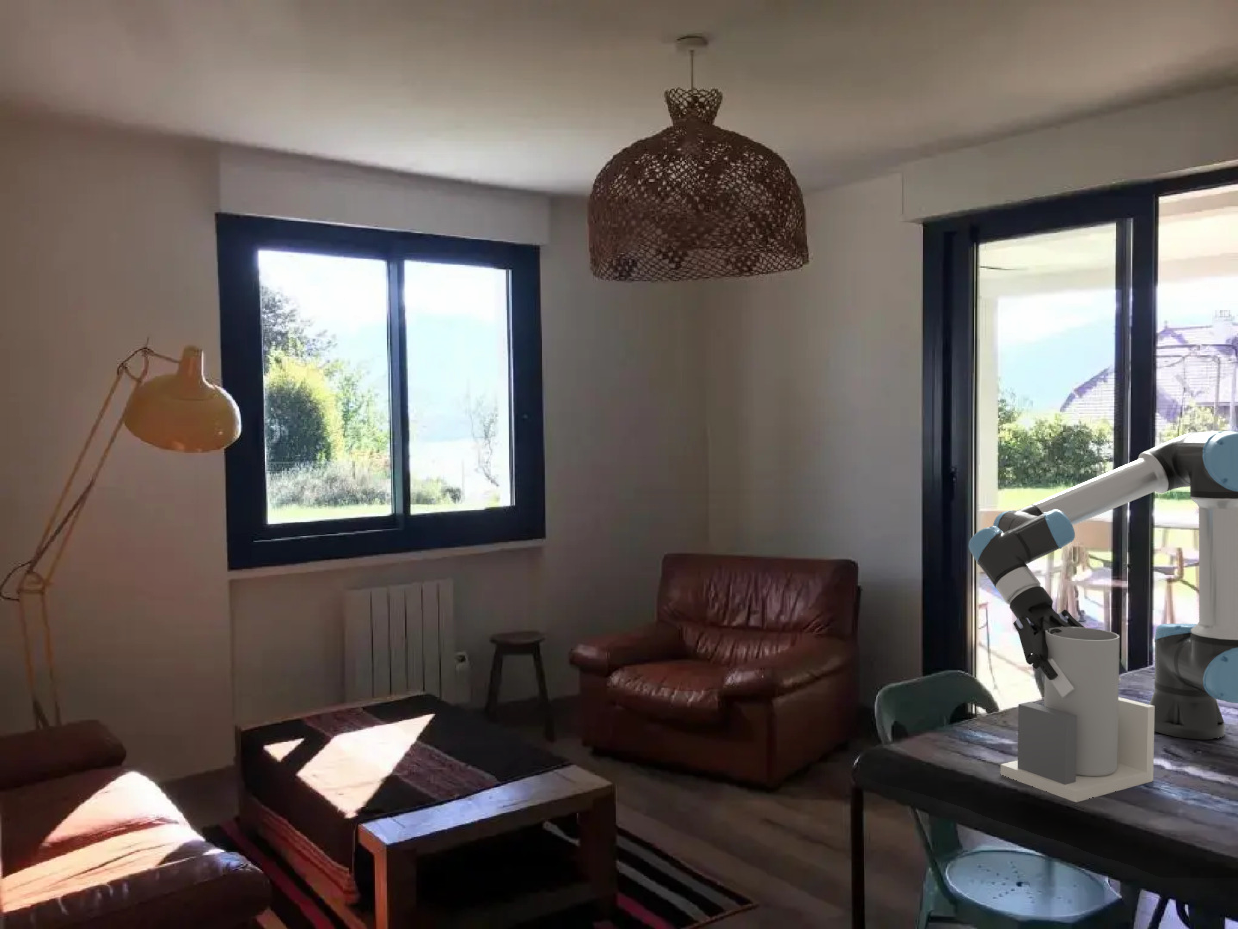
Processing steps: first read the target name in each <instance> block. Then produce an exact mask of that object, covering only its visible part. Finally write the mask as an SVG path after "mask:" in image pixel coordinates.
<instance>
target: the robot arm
mask: <svg viewBox="0 0 1238 929" xmlns="http://www.w3.org/2000/svg"><path fill="white" fill-rule="evenodd" d="M1184 487H1185V488H1187V487H1189V490H1190V491H1189V495H1190V499H1191V500H1192V501H1193V502H1194V503H1195V504H1196V505H1197V506H1198V612H1199V613H1198V623H1161V624H1159V625H1158V626H1157V627H1156V629H1155V635H1154V636H1155V637H1154V691H1153V693H1152V695H1151V698H1150V701H1149V705H1153V706H1155V713H1154V732H1156V733H1159V734H1163V735H1166V736H1170V737H1171V736H1172V737H1176V738H1183V739H1191V740H1214V739H1213V738H1217V739H1219V738H1218V737H1221V736H1223V737H1225V735H1224V734H1226V724H1225V721H1224V718H1223V715H1222V712H1221V709H1220V706H1219V702H1218V700H1220V701H1222V702H1223V701H1224V702H1225V703H1230V704H1238V431H1234V430H1224V431H1223V430H1222V431H1221V430H1220V431H1219V430H1218V431H1204V430H1201V431H1192V432H1187V433H1185V434H1181V435H1179V436H1177V437H1174V438H1172V439H1170V440H1168V441H1164V442H1163V443H1161V444H1159V445H1155V446H1154V447H1152V448H1150V449H1147V450H1145V451H1143V452H1141V453H1140V454H1139V455H1138V458H1137V459H1136V460H1134V461H1131V462H1129V463H1126V464H1124V465H1122V466H1119V467H1117V468H1115V469H1113V470H1112V469H1111V470H1110V471H1108V472H1105V473H1103V474H1101V475H1098V476H1096V477H1093V478H1091V479H1088V480H1087V481H1084V482H1082V483H1080V484H1077V485H1075V486H1073V487H1070V488H1068V489H1065V490H1063V491H1060V492H1058V493H1055V494H1053V495H1051V496H1048V497H1046V498H1044V499H1042V500H1039V501H1036V502H1034V503H1032V504H1030V505H1027V506H1025V507H1022V508H1020V509H1017V510H1005V511H1003V512H1001V513H1000V514H998V515H997V516H996V517H995V519H994V521H993V522H992V523H993V524H992V526H987V527H984V528H982V529H980V530H979V531H977V532H976V533H974V534H973V535H972V536H971V538H970V540H969V542H968V549H969V552H970V554H971V555H972V557H973V559H974V560H975V561H976V564H977V565H978V566H979V567H980V568H981V570H982V571H983V572H984V574H985V575H986V576H987V578H988V579H989V581H990V582H991V583H992V585H993V587H995V589H996V591H997V592H998V593H999V594H1000V596H1001V597H1002V599H1003V600H1004V602H1005V603H1006V605H1009V609H1010V611H1011V612H1012V613H1013V615H1014V616H1015V618H1016V620H1015V621H1014V622H1013V623H1012V624H1013V627H1014V628H1015V630H1016V631H1017V634H1018V637H1019V641H1020V643H1021V644H1020V645H1021V648H1022V650H1023V654H1024V658H1025V661H1026V663H1027V665H1030V666H1032V667H1033V669H1036V670H1038V669H1039V668H1040V669H1041V671H1042V672H1043V673H1044V676H1045V675H1046V676H1047V678H1048V679H1049V680H1050V681H1051V682H1052V683H1053V685H1054V686H1055V688H1056V689H1057V691H1058V692H1059V693H1060V695H1061V696H1062V697H1066V696H1067V695H1068V694H1069V693H1070V692H1071V691H1073V690H1074V687H1073V686H1072V685H1071V683H1070V682H1069V680H1068V679H1067V678H1066V676H1065V675H1064V673H1063V672H1062V671H1061V669H1060V668H1059V666H1058V665H1057V664H1056V662H1055V661H1054V659H1050V660H1048V647H1047V644H1046V639H1045V630H1048V633H1049V628H1056V627H1084V628H1086V627H1085V626H1084V625H1083V624H1081V623H1080V622H1079V621H1078V620H1076V619H1075V618H1074V617H1073V615H1072V614H1071V613H1070V612H1069V611H1068V610H1067V609H1063V610H1062V611H1061V612H1060V613H1058V612H1056V610H1054V608H1053V605H1054V600H1053V599H1052V597H1051V595H1050V594H1049V593H1048V591H1047V590H1046V589H1045V587H1043V586H1041V582H1040V581H1039V580H1038V578H1037V577H1036V576H1035V574H1034V573H1033V571H1032V570H1031V569H1030V568H1029V566H1028V565H1029V564H1030V563H1032V562H1034V561H1036V560H1039V559H1040V558H1043V557H1044V556H1046V555H1049V554H1051V553H1054V552H1055V551H1057V550H1061V549H1063V547H1065V546H1067V545H1069V544H1070V543H1072V542H1073V541H1074V540H1075V538H1076V532H1075V529H1074V525H1078V524H1080V523H1083V522H1085V521H1087V520H1089V519H1092V518H1094V517H1097V516H1100V515H1101V514H1104V513H1106V512H1109V511H1111V510H1114V509H1116V508H1118V507H1121V506H1123V505H1126V504H1128V503H1130V502H1132V501H1135V500H1138V499H1141V498H1142V497H1144V496H1147V495H1149V494H1150V495H1151V493H1152V494H1153V493H1155V492H1156V493H1158V494H1165V493H1167V492H1169V491H1172V490H1176V489H1180V488H1184ZM1054 632H1056V633H1059V632H1062V630H1059V629H1052V630H1051V631H1050V634H1053V633H1054ZM1121 681H1122V678H1121V677H1120V676H1119V683H1120V682H1121ZM1221 738H1222V737H1221Z"/></svg>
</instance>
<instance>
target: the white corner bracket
mask: <svg viewBox="0 0 1238 929" xmlns="http://www.w3.org/2000/svg"><path fill="white" fill-rule="evenodd" d="M1017 709H1018V717H1017V722H1018V724H1017V728H1018V729H1017V760H1013V761H1009V762H1005V763H1001V764H1000V774H1001V775H1000V776H1002V775H1004V776H1003V777H1005V776H1006V777H1005V778H1008V777H1009V778H1008V779H1011V780H1013V779H1014V781H1016V780H1017V781H1016V782H1018V783H1022V784H1024V785H1027V786H1030V787H1032V786H1033V788H1036V789H1039V790H1041V791H1044V792H1046V791H1047V792H1046V793H1050V794H1052V795H1054V796H1058V797H1060V798H1063V799H1066V800H1068V801H1071V802H1074V803H1079V802H1082V801H1083V802H1084V801H1086V800H1090V799H1093V798H1092V797H1094V798H1097V797H1100V796H1101V797H1102V796H1104V795H1108V794H1112V793H1116V792H1119V791H1122V790H1126V789H1130V788H1133V787H1136V786H1140V785H1144V784H1147V783H1151V782H1154V766H1155V765H1154V758H1155V757H1154V755H1155V753H1154V752H1155V751H1154V750H1155V731H1154V713H1155V706H1153V705H1149V704H1148V703H1144V702H1141V701H1137V700H1133V699H1128V698H1125V697H1124V698H1123V697H1120V696H1118V752H1117V769H1116V771H1115V772H1114V773H1112V774H1109V775H1105V776H1080V775H1076V741H1077V715H1074V714H1070V713H1067V712H1063V711H1060V710H1056V709H1052V708H1049V707H1045V706H1044V705H1041V704H1038V703H1034V702H1030V701H1027V702H1023V703H1018V708H1017ZM1115 791H1116V792H1115ZM1089 798H1090V799H1089Z"/></svg>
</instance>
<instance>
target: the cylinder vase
mask: <svg viewBox="0 0 1238 929" xmlns="http://www.w3.org/2000/svg"><path fill="white" fill-rule="evenodd" d="M1084 627H1085V626H1084ZM1084 627H1056V628H1049V633H1048V630H1045V639H1046V644H1047V647H1048V660H1050V659H1054V661H1055V662H1056V664H1057V665H1058V666H1059V668H1060V669H1061V671H1062V672H1063V673H1064V675H1065V676H1066V678H1067V679H1068V680H1069V682H1070V683H1071V685H1072V686H1073V687H1074V690H1073V691H1071V692H1070V693H1069V694H1068V695H1067V696H1066V697H1062V696H1061V695H1060V693H1059V692H1058V691H1057V689H1056V688H1055V686H1054V685H1053V683H1052V682H1051V681H1050V680H1049V679H1048V678H1047V676H1046V675H1045V674H1044V694H1043V696H1044V700H1043V701H1044V702H1043V704H1044V705H1043V706H1045V707H1049V708H1052V709H1056V710H1060V711H1063V712H1067V713H1070V714H1074V715H1077V741H1076V775H1080V776H1105V775H1109V774H1112V773H1114V772H1115V771H1116V769H1117V752H1118V697H1119V694H1120V693H1119V692H1120V691H1119V690H1120V687H1119V686H1120V682H1119V677H1120V634H1117V633H1115V632H1113V631H1109V630H1105V629H1099V628H1091V627H1085V628H1084ZM1052 629H1059V630H1062V632H1059V633H1056V632H1054V633H1053V634H1050V631H1051V630H1052Z"/></svg>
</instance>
